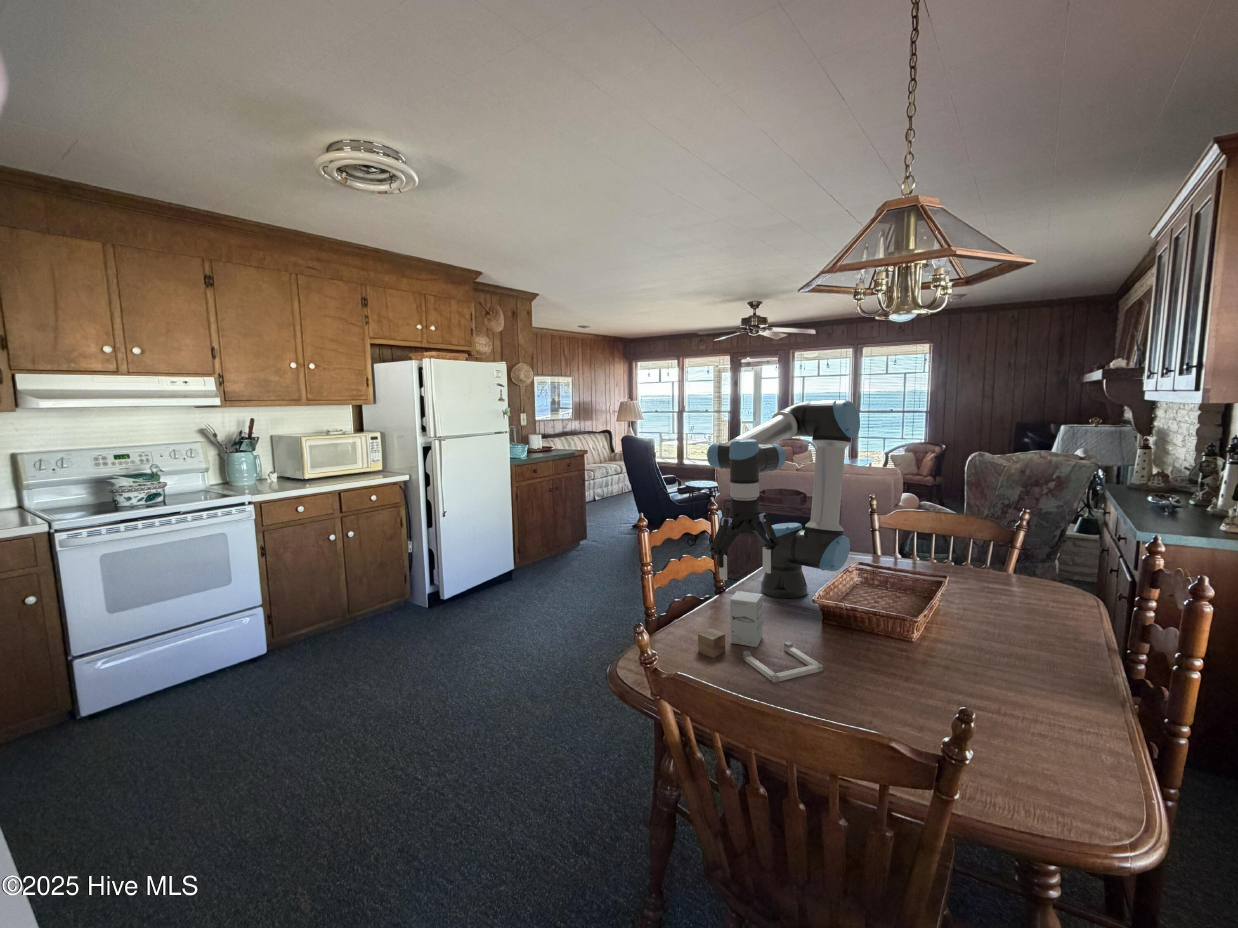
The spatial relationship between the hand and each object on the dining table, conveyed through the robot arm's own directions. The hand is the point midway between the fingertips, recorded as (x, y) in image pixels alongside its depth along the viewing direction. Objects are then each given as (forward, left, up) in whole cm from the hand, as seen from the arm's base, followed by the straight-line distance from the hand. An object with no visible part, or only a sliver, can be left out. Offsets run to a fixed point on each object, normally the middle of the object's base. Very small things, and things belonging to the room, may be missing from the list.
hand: (745, 575), depth 149 cm
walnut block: (+12, +2, -18) cm, 22 cm away
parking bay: (0, +15, -18) cm, 24 cm away
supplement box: (0, 0, -19) cm, 19 cm away
